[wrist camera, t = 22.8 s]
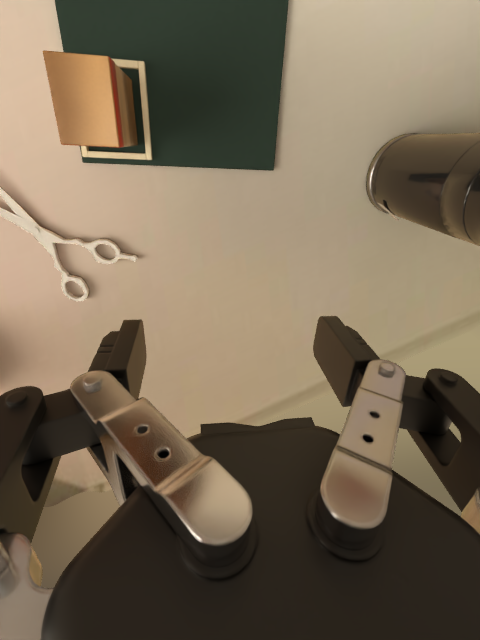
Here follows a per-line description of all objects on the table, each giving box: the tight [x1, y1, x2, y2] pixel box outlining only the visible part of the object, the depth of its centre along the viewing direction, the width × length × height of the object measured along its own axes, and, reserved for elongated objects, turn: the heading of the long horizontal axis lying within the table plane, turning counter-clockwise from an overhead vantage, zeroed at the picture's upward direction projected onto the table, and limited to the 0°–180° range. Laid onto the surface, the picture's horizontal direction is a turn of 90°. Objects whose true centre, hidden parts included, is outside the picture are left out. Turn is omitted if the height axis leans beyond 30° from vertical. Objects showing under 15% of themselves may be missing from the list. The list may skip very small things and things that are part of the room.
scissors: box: [0, 187, 138, 301], centre depth 39 cm, size 11×1×20 cm
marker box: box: [43, 51, 138, 147], centre depth 30 cm, size 5×6×10 cm
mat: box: [55, 0, 288, 170], centre depth 32 cm, size 22×20×1 cm
